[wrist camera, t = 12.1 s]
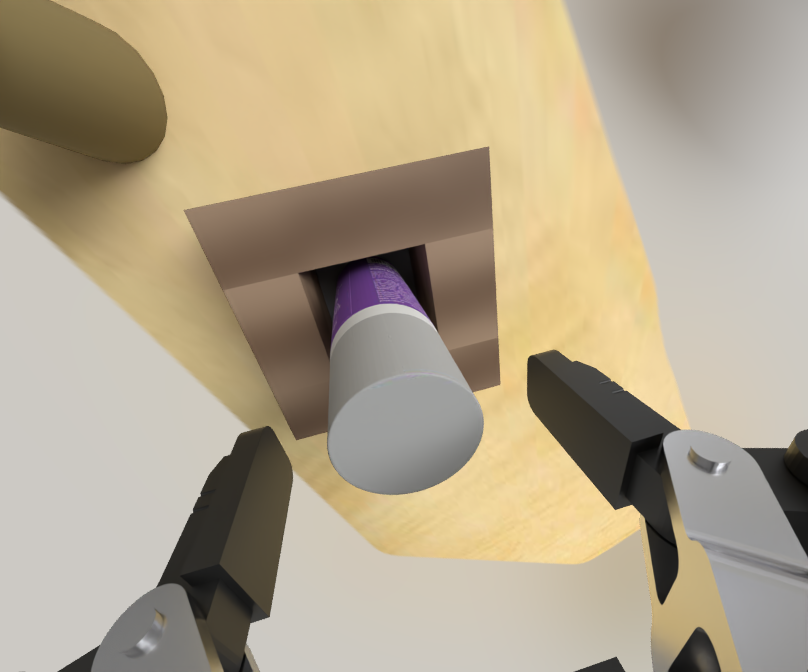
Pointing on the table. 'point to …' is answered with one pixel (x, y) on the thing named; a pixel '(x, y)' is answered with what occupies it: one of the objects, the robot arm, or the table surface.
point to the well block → (350, 240)
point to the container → (394, 388)
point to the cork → (76, 84)
